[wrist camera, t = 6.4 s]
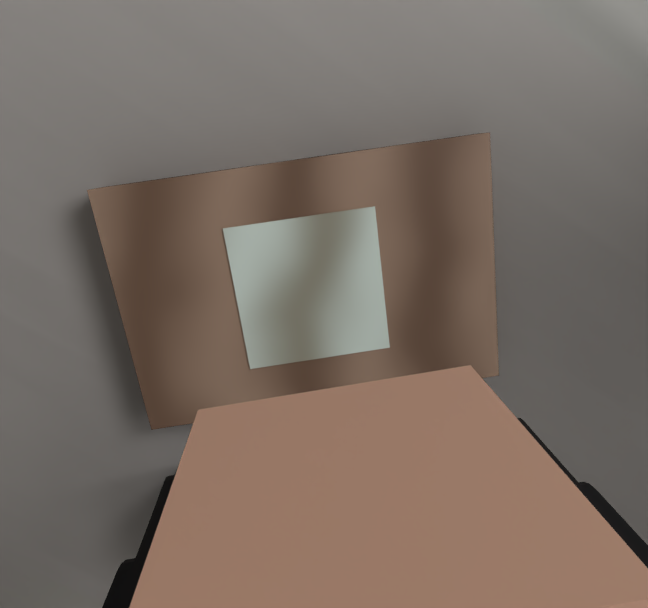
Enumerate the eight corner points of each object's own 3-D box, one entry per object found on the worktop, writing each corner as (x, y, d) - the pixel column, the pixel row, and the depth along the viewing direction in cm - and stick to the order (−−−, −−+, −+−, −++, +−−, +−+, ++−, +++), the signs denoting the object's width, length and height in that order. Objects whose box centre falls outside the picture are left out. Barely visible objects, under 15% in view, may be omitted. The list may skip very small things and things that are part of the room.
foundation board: (473, 134, 24) (490, 132, 22) (484, 360, 28) (499, 376, 26) (103, 187, 24) (86, 190, 22) (160, 410, 27) (151, 430, 25)
